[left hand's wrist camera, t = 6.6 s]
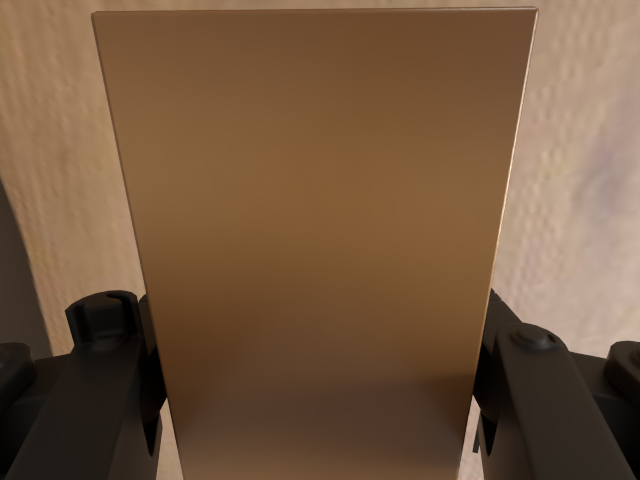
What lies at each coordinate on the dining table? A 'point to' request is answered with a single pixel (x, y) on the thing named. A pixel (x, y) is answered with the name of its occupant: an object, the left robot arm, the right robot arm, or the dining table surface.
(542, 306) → the dining table surface
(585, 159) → the dining table surface
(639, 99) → the dining table surface
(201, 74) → the beam
